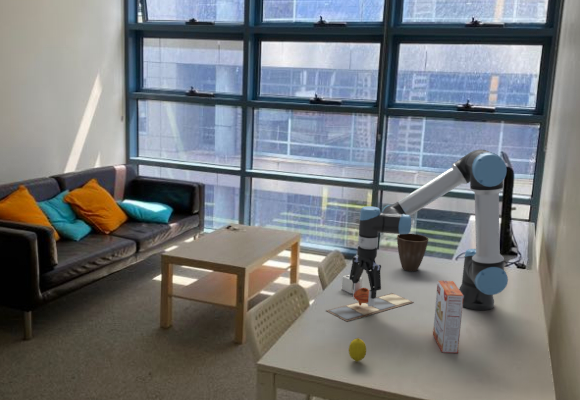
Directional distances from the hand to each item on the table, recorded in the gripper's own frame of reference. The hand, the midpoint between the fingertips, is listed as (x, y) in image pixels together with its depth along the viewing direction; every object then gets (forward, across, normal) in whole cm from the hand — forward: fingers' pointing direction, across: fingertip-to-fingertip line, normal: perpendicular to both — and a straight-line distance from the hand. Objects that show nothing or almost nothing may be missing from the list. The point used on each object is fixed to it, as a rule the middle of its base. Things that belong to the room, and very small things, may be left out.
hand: (363, 301), depth 226 cm
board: (+3, 0, +4) cm, 5 cm away
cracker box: (+3, +38, +2) cm, 38 cm away
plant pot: (+3, -25, +56) cm, 61 cm away
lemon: (+3, +31, -32) cm, 45 cm away
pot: (+1, 0, 0) cm, 1 cm away
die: (+3, -18, +10) cm, 21 cm away
